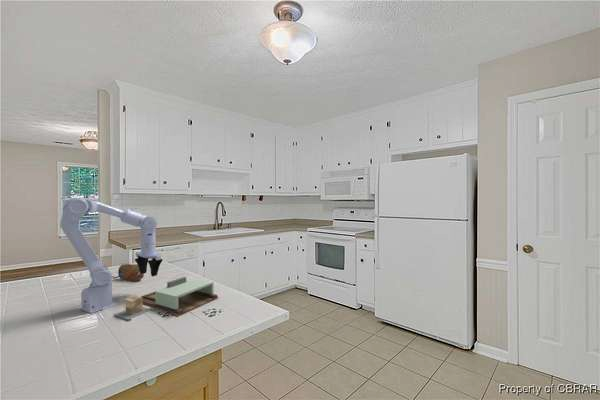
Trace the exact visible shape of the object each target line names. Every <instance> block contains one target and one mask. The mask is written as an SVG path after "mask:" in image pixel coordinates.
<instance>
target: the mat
mask: <svg viewBox="0 0 600 400" xmlns="http://www.w3.org/2000/svg"><path fill="white" fill-rule="evenodd" d="M151 311H152V308H147V307H146V306H145V307H144V306H143V311H141V312H138V313H136V314H133V315H131V314H128V313H126V309H125V310H121V311H120V312H119V311H118V312H117V313H114V314H113V316H114V317H115V316H116V317H115V318H118V317H119V318H118V319H121V318H122V319H121V320H124V319H125V320H124V321H127V322H130V321H132V319H133V318H135V317H136V318H137V317H138V316H141V315H143V314H144V315H145V314H146V313H148V312H151ZM129 320H130V321H129Z"/></svg>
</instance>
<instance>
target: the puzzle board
mask: <svg viewBox="0 0 600 400" xmlns="http://www.w3.org/2000/svg"><path fill="white" fill-rule="evenodd" d="M140 297H142V298H143V306H145V307H150V308H153V309H157V310H160V311H163V312H166V313H170V315H172V316H175V317H181V316H182V315H185V314H187V313H189V312H191V311H193V310H195V309H198V308H199V307H202V306H205V305H206V304H208V303H211V302H213V301H215V300H217V299H219V296H218V294H216V293H214V294H208V293H204V292H200V291H194V292H192V293H189V294H186V295H184V296H181V297H179V298H178V309H172V308H169V307H165V306H162V305H158V304H155V291H153V292H150V293H147V294H144V295H141V296H140Z"/></svg>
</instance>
